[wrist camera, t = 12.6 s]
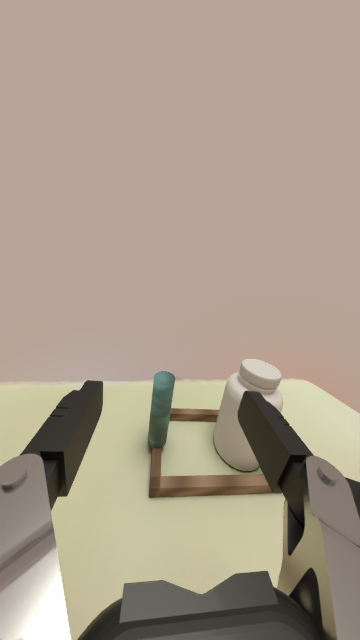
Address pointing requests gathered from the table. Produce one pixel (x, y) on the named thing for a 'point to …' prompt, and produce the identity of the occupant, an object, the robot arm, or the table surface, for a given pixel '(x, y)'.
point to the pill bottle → (227, 427)
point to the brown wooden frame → (157, 439)
